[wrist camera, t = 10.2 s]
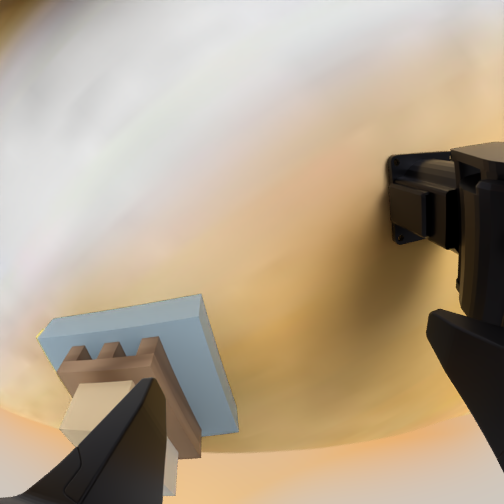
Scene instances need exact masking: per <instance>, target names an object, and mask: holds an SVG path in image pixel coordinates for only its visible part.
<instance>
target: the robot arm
mask: <svg viewBox="0 0 504 504" xmlns="http://www.w3.org/2000/svg"><path fill="white" fill-rule="evenodd" d="M450 150H451V151H440V152H424V153H410V154H398V155H391V156H390V157H389V159H388V168H389V178H390V186H389V197H390V215H391V221H392V231H393V241H394V242H395V243H397V244H399V245H401V244H406V243H410V242H414V241H418V240H422V239H428V240H430V241H432V242H434V243H435V244H437V245H439V246H441V247H443V248H445V249H446V250H451V251H453V252H455V253H457V254H459V262H458V278H457V279H456V289H457V290H458V292H459V301H460V305H461V309H462V310H463V311H464V313H465V314H466V316H463V315H460V314H456V313H453V312H449V311H446V310H443V309H437V310H435V311H432V312H431V313H430V314H429V317H428V324H427V330H426V335H427V338H428V340H429V342H430V344H431V346H432V348H433V350H434V352H435V353H436V355H437V357H438V359H439V361H440V363H441V365H442V367H443V369H444V370H445V372H446V374H447V375H448V377H449V379H450V380H451V382H452V383H453V385H454V386H455V388H456V389H457V391H458V393H459V394H460V396H461V397H462V399H463V400H464V402H465V404H466V405H467V407H468V409H469V410H470V412H471V414H472V415H473V417H474V418H475V420H476V422H477V424H478V425H479V427H480V429H481V431H482V432H483V434H484V436H485V438H486V440H487V441H488V443H489V445H490V447H491V448H492V451H493V452H494V454H495V456H496V458H498V459H497V460H498V462H499V464H500V466H501V468H502V470H503V472H504V142H491V143H484V144H477V145H471V146H465V147H459V148H453V149H450ZM450 156H451V159H450ZM395 159H396V161H397V164H396V165H394V160H395ZM400 235H401V238H400V239H399V240H398V237H399V236H400ZM166 445H167V428H166V398H165V395H164V393H163V391H162V389H161V387H160V385H159V383H158V381H157V380H156V378H154V377H149V378H143V379H141V380H140V381H139V382H138V383H137V384H136V385H135V386H134V387H133V388H132V390H131V391H130V392H129V393H128V394H127V395H126V396H125V397H124V398H123V399H122V400H121V401H120V402H119V403H118V404H117V405H116V406H115V407H114V408H113V409H112V410H111V411H110V412H109V413H108V414H107V416H106V417H105V418H104V419H103V420H102V421H101V422H100V423H99V424H98V425H97V426H96V427H95V428H94V429H93V430H92V431H91V432H90V433H89V434H88V435H87V436H86V437H85V438H84V439H83V440H82V441H81V442H80V443H79V444H78V447H75V449H73V451H72V452H71V453H70V454H69V455H68V456H67V457H65V459H63V460H62V461H61V462H60V463H59V464H58V465H57V466H56V467H55V468H53V469H52V470H51V471H50V472H49V473H48V474H46V475H45V476H44V477H43V478H42V479H40V480H39V481H38V482H37V483H36V484H34V485H33V486H32V487H31V488H29V489H28V490H27V491H25V492H24V493H22V494H20V495H17V496H14V497H6V498H0V504H162V501H163V484H164V470H165V458H166Z"/></svg>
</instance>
